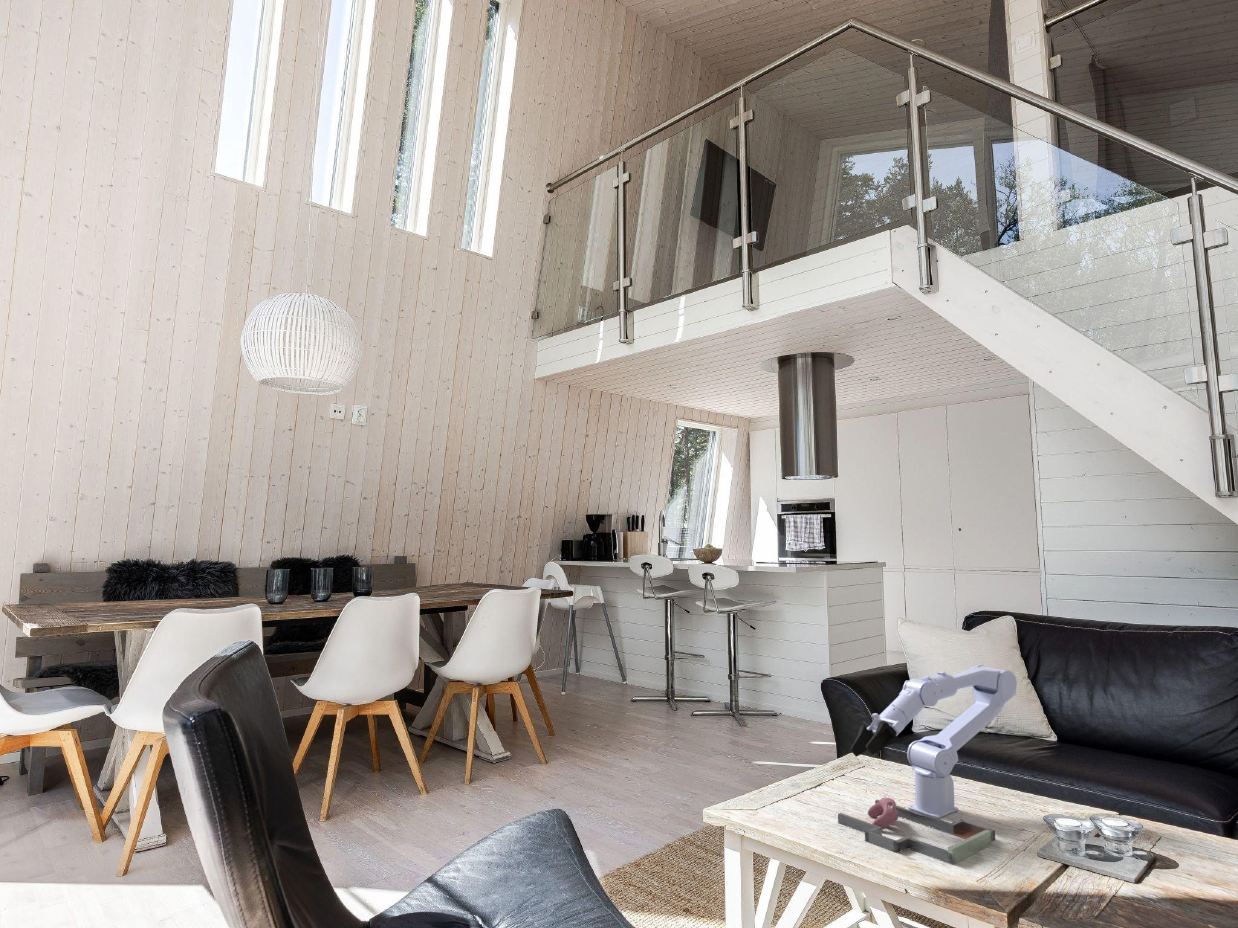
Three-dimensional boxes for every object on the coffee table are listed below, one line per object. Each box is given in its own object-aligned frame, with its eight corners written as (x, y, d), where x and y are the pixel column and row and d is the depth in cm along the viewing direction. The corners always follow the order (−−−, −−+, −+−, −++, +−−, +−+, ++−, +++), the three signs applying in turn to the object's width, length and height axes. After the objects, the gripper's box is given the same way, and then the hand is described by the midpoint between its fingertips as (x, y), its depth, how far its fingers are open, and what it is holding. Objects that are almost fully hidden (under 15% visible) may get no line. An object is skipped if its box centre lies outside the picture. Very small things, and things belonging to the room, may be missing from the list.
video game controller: (889, 839, 172) (903, 812, 172) (870, 828, 173) (884, 801, 173) (883, 823, 182) (897, 797, 182) (865, 813, 183) (878, 787, 183)
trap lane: (887, 804, 190) (886, 791, 190) (999, 840, 168) (999, 826, 168) (827, 826, 175) (827, 813, 176) (942, 869, 153) (942, 853, 154)
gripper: (871, 704, 191) (836, 739, 186) (901, 697, 178) (864, 735, 173) (890, 728, 190) (855, 764, 185) (922, 723, 177) (885, 761, 172)
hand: (861, 751), depth 179 cm, fingers open, 7 cm apart
